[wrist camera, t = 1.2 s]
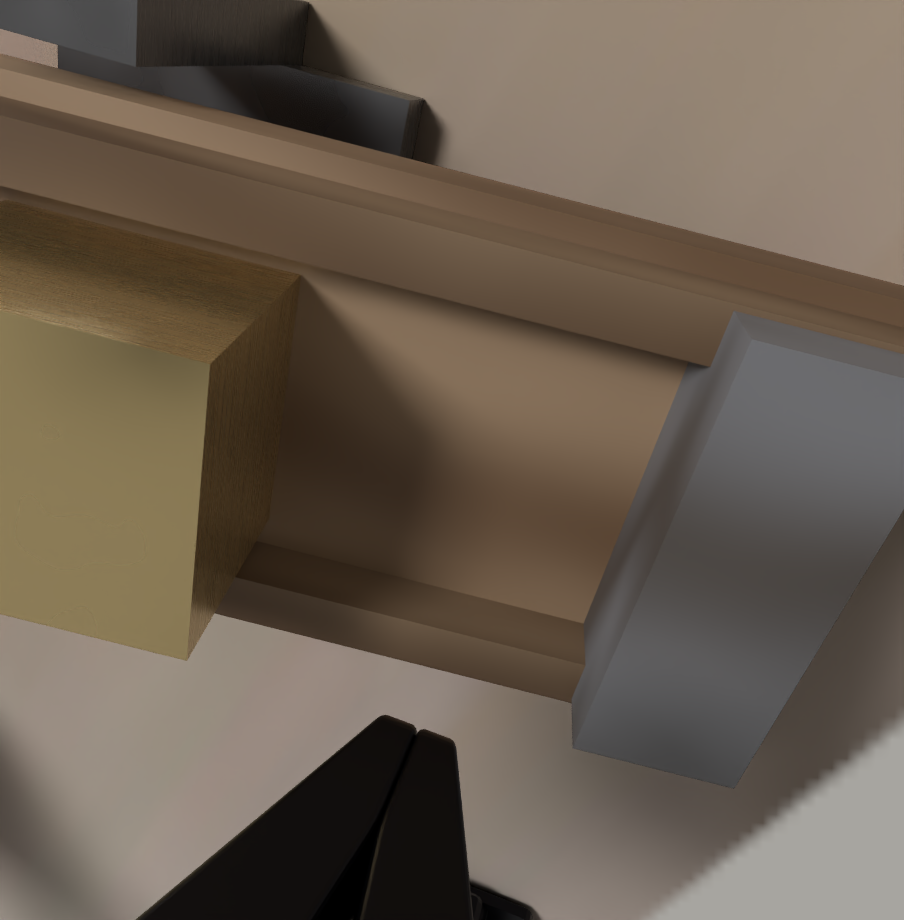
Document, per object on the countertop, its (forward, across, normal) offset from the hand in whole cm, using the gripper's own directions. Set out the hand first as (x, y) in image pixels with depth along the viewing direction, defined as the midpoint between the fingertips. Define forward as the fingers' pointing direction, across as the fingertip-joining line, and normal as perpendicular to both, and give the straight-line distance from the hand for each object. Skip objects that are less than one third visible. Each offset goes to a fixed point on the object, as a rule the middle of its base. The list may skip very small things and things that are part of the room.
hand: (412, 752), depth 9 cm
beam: (+7, +8, 0) cm, 11 cm away
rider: (+6, +7, 0) cm, 9 cm away
